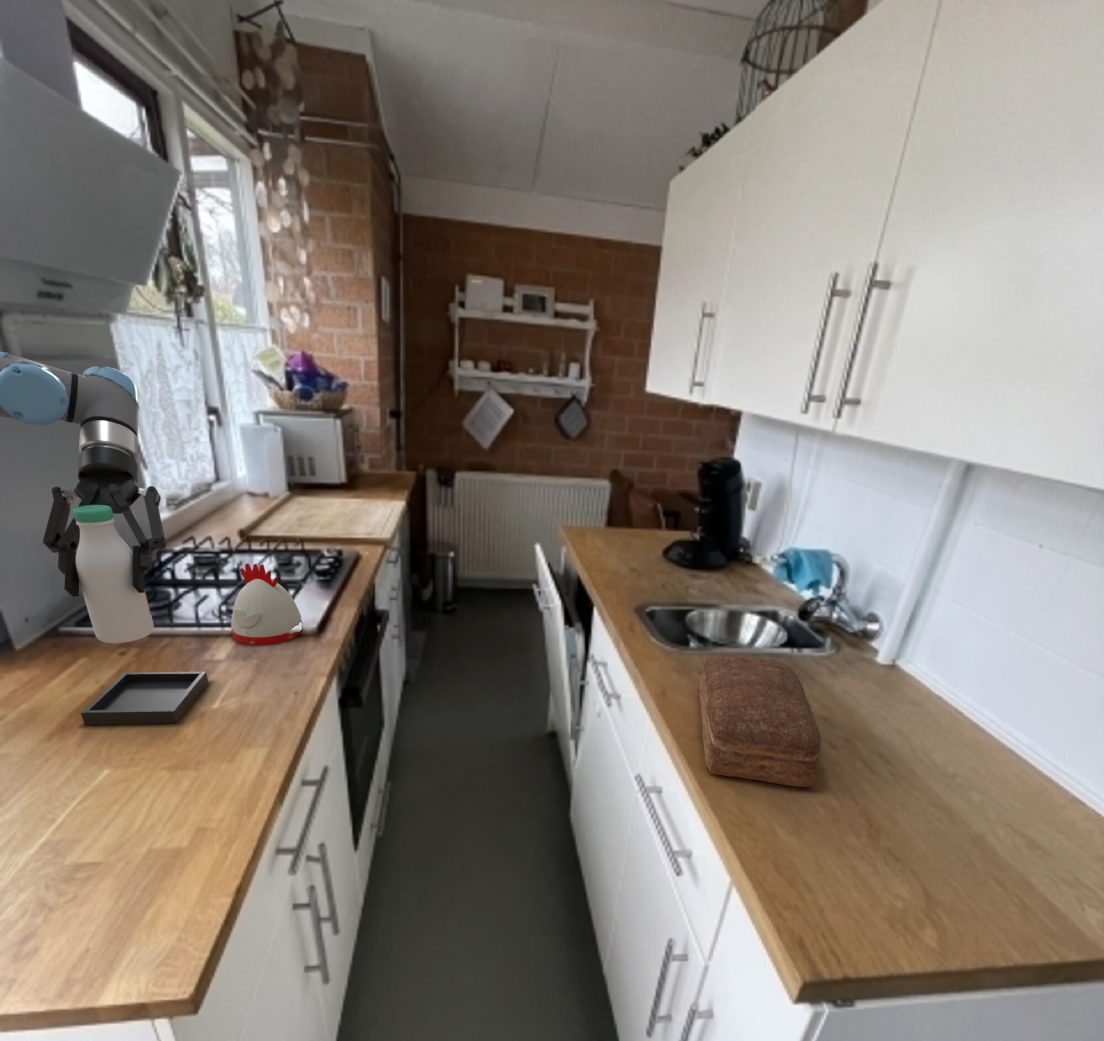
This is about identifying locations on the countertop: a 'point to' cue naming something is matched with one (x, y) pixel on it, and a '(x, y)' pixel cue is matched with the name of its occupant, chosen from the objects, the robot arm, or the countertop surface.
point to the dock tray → (146, 698)
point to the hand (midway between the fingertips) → (105, 590)
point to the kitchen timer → (263, 610)
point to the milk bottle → (109, 579)
